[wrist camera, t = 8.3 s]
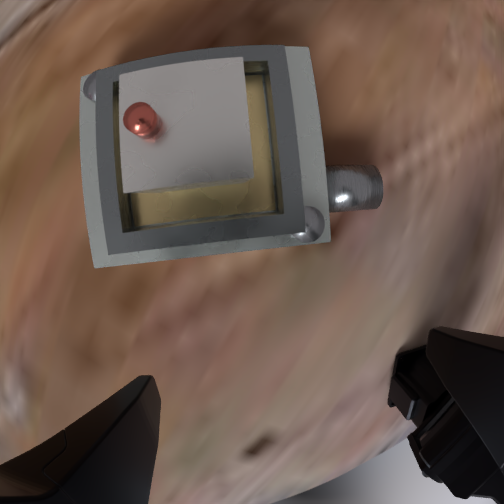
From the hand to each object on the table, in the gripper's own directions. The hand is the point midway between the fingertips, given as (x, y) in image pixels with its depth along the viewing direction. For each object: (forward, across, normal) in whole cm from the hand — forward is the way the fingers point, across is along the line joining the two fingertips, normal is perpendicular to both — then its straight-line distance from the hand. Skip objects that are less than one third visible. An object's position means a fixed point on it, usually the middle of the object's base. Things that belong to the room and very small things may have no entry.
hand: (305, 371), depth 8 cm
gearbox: (+13, +1, -8) cm, 15 cm away
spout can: (+9, +3, -8) cm, 12 cm away
